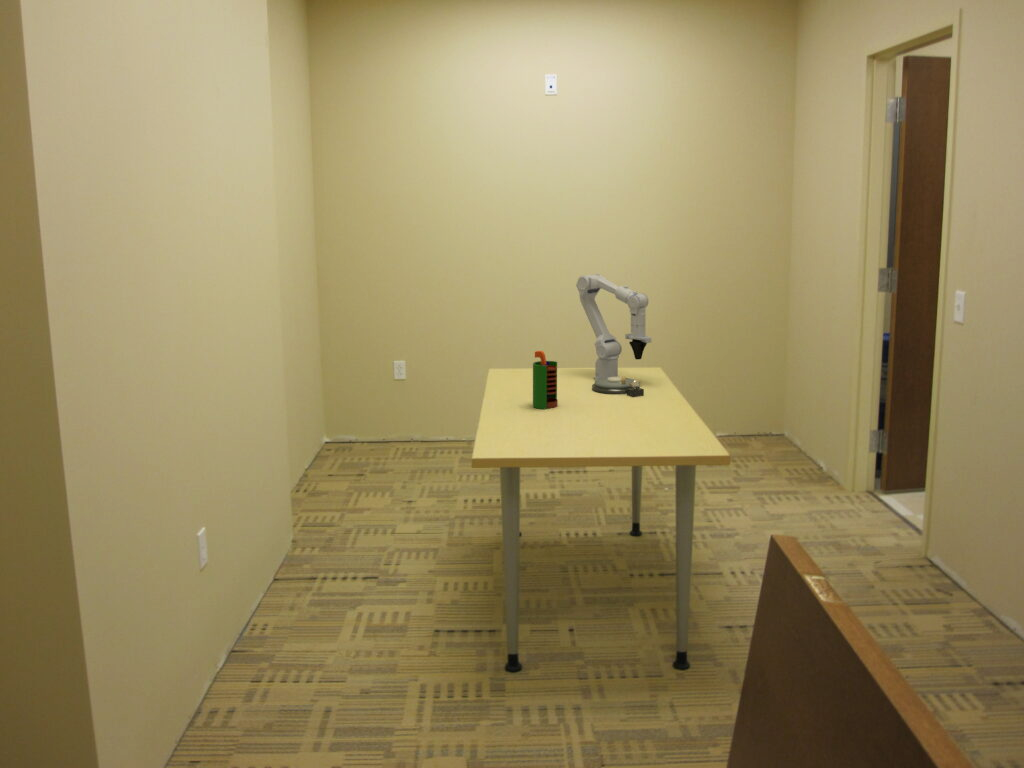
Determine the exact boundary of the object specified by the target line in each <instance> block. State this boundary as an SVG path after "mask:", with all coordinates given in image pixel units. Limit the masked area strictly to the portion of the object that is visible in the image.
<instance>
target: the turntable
mask: <svg viewBox="0 0 1024 768" xmlns="http://www.w3.org/2000/svg"><path fill="white" fill-rule="evenodd" d="M634 380H635V379H633V378H630V377H627V376H626V375H621V376H618V377H606V378H600V379H594V383H595V386H596V387H598V388H603V389H628V388H632V386H631V385H630V383H631V384H632V382H633V381H634Z"/></svg>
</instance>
